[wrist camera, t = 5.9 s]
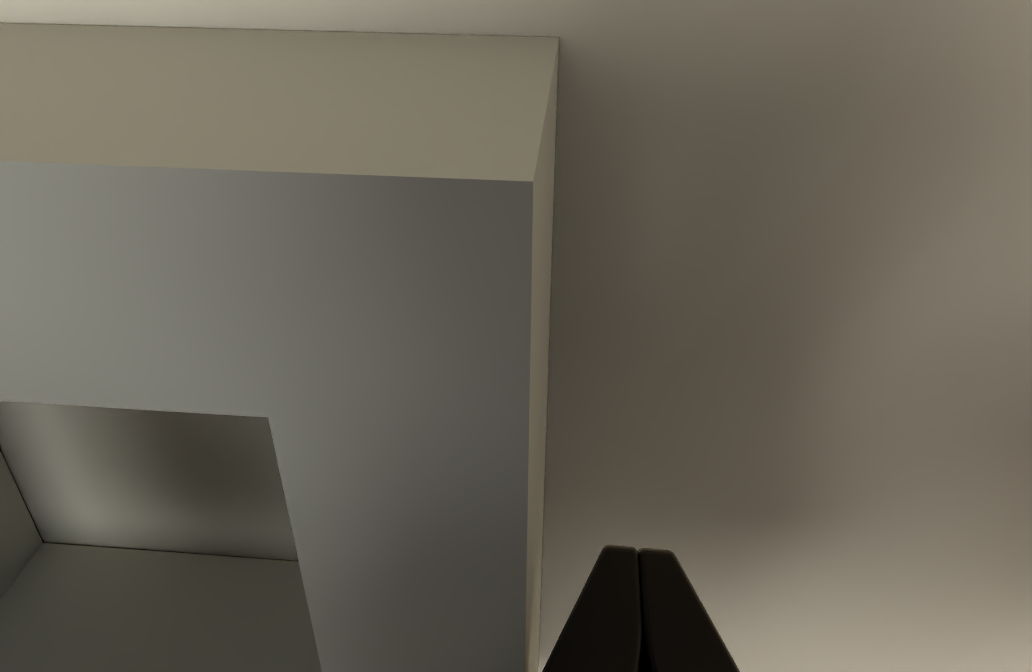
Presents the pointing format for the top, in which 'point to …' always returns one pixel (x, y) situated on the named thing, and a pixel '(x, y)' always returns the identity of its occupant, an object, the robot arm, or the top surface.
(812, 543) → the top surface
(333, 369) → the holder block
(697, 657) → the robot arm
